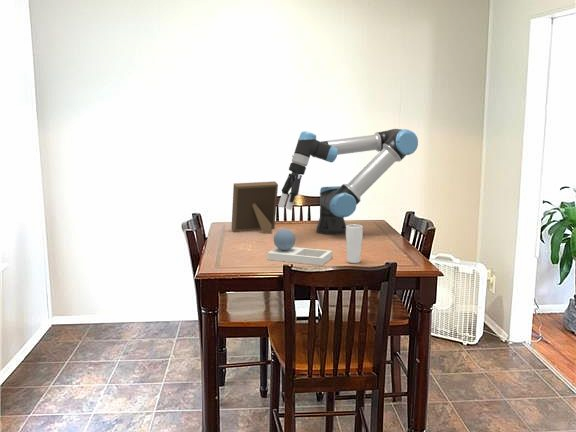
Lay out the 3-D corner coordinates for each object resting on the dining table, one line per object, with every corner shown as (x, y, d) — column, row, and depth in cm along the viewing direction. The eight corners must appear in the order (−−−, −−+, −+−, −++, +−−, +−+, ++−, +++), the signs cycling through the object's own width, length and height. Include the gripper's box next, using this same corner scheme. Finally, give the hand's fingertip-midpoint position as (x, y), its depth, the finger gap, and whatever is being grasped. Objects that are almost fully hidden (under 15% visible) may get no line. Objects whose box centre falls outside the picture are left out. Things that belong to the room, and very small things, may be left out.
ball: (292, 247, 250) (292, 226, 249) (297, 252, 242) (297, 231, 240) (272, 248, 249) (271, 227, 247) (276, 253, 240) (276, 232, 238)
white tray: (267, 259, 242) (267, 252, 241) (279, 252, 254) (279, 245, 253) (322, 265, 233) (322, 258, 232) (332, 257, 244) (332, 250, 244)
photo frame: (231, 230, 299) (230, 181, 294) (271, 227, 306) (271, 179, 301) (239, 236, 285) (238, 186, 280) (281, 233, 293) (281, 183, 288)
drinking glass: (344, 260, 241) (344, 224, 238) (360, 259, 241) (360, 224, 239) (347, 264, 234) (347, 227, 231) (363, 263, 235) (364, 227, 232)
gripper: (284, 161, 281) (270, 203, 281) (298, 161, 257) (283, 207, 257) (298, 166, 283) (284, 208, 283) (314, 167, 259) (299, 212, 259)
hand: (284, 208), depth 270 cm, fingers open, 13 cm apart
